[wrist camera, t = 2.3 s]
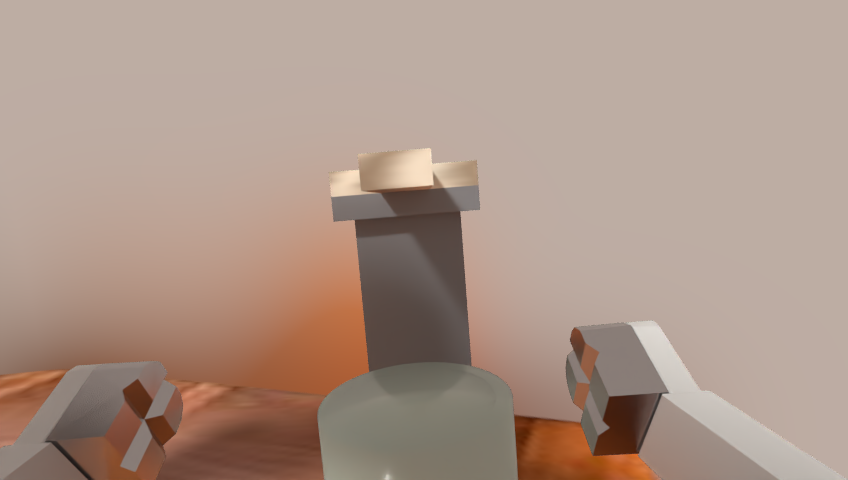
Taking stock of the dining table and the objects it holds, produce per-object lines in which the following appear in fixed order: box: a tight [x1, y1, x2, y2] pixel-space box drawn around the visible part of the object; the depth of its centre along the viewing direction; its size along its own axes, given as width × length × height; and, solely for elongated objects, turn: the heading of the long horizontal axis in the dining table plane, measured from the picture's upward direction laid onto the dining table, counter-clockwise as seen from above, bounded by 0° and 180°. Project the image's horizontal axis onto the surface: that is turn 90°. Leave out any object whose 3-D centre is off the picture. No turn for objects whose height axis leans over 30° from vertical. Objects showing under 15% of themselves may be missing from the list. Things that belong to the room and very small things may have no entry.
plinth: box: [331, 185, 480, 372], centre depth 44 cm, size 12×12×30 cm
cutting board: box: [329, 148, 478, 197], centre depth 37 cm, size 12×24×2 cm, turn 0°
